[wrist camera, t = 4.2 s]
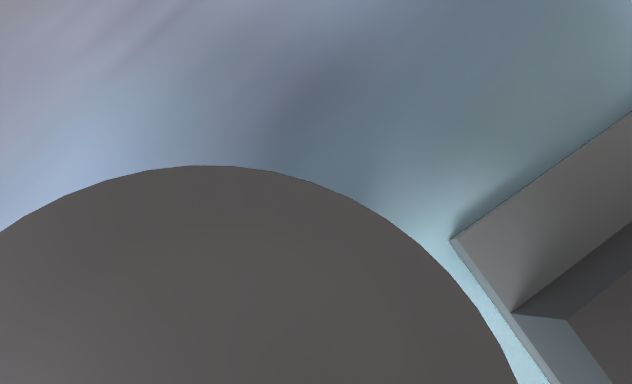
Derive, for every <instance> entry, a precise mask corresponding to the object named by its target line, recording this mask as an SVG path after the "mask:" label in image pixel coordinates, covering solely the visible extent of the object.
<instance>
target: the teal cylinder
mask: <svg viewBox="0 0 632 384" xmlns="http://www.w3.org/2000/svg"><path fill="white" fill-rule="evenodd" d="M0 384H518V383H517V380H516V378H515V376H514V374H513V372H512V370H511V368H510V365H509V363H508V361H507V359H506V357H505V355H504V352H503V350H502V348H501V346H500V344H499V343H498V341H497V339H496V338H495V336H494V335H493V333H492V331H491V330H490V328H489V327H488V325H487V323H486V322H485V320H484V318H483V317H482V315H481V314H480V312H479V310H478V309H477V307H476V306H475V305H474V304H473V302H472V301H471V300H470V299H469V297H468V296H467V295H466V294H465V292H464V291H463V290H462V289H461V287H460V286H459V285H458V284H457V282H456V281H455V280H454V279H453V277H452V276H451V275H450V274H449V273H448V272H447V271H446V270H445V269H444V268H443V267H442V266H441V265H440V264H439V263H438V262H437V261H436V260H435V259H434V258H433V257H432V256H431V255H430V254H429V253H428V252H427V251H426V250H425V249H424V248H423V247H422V246H421V245H420V244H419V243H417V242H416V241H415V240H413V239H412V238H411V237H409V236H408V235H407V234H405V233H404V232H403V231H401V230H400V229H399V228H397V227H396V226H395V225H393V224H392V223H391V222H389V221H388V220H387V219H385V218H384V217H382V216H380V215H378V214H377V213H375V212H373V211H371V210H370V209H368V208H366V207H364V206H363V205H361V204H359V203H357V202H356V201H354V200H352V199H350V198H348V197H346V196H343V195H341V194H339V193H336V192H334V191H331V190H329V189H327V188H324V187H322V186H319V185H317V184H314V183H312V182H308V181H305V180H301V179H297V178H294V177H290V176H286V175H283V174H279V173H275V172H271V171H264V170H256V169H249V168H242V167H235V166H182V167H173V168H164V169H155V170H147V171H143V172H139V173H135V174H131V175H126V176H122V177H118V178H114V179H110V180H106V181H103V182H100V183H98V184H95V185H92V186H90V187H87V188H84V189H81V190H79V191H76V192H73V193H71V194H68V195H65V196H63V197H61V198H59V199H57V200H55V201H53V202H51V203H49V204H47V205H45V206H44V207H42V208H40V209H38V210H36V211H34V212H32V213H30V214H28V215H26V216H24V217H22V218H21V219H19V220H18V221H16V222H15V223H13V224H12V225H10V226H9V227H7V228H6V229H4V230H3V231H1V232H0Z"/></svg>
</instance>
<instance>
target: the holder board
mask: <svg viewBox="0 0 632 384" xmlns="http://www.w3.org/2000/svg"><path fill="white" fill-rule="evenodd" d="M449 242H450V243H451V245H452V246H453V248H454V249H455V250H456V252H457V253H458V255H459V256H460V257H461V259H462V260H463V262H464V263H465V264H466V266H467V267H468V269H469V270H470V271H471V273H472V274H473V276H474V277H475V278H476V280H477V281H478V283H479V284H480V285H481V287H482V288H483V290H484V291H485V292H486V294H487V295H488V297H489V298H490V299H491V301H492V302H493V304H494V305H495V306H496V308H497V309H498V311H499V312H500V313H501V315H502V316H503V318H504V319H505V320H506V322H507V323H508V325H509V326H510V327H511V329H512V330H513V332H514V333H515V334H516V336H517V337H518V339H519V340H520V341H521V343H522V344H523V346H524V347H525V348H526V350H527V351H528V353H529V354H530V355H531V357H532V358H533V360H534V361H535V362H536V364H537V365H538V367H539V368H540V369H541V371H542V372H543V374H544V375H545V376H546V378H547V379H548V381H549V382H550V383H551V384H632V111H631V112H630V113H628V114H627V115H626V116H624V117H623V118H621V119H620V120H619V121H617V122H616V123H614V124H613V125H612V126H610V127H609V128H607V129H606V130H604V131H603V132H602V133H600V134H599V135H597V136H596V137H595V138H593V139H592V140H590V141H589V142H588V143H586V144H585V145H583V146H582V147H581V148H579V149H578V150H576V151H575V152H573V153H572V154H571V155H569V156H568V157H566V158H565V159H564V160H562V161H561V162H559V163H558V164H557V165H555V166H554V167H552V168H551V169H549V170H548V171H547V172H545V173H544V174H542V175H541V176H540V177H538V178H537V179H535V180H534V181H533V182H531V183H530V184H528V185H527V186H526V187H524V188H523V189H521V190H520V191H518V192H517V193H516V194H514V195H513V196H511V197H510V198H509V199H507V200H506V201H504V202H503V203H502V204H500V205H499V206H497V207H496V208H494V209H493V210H492V211H490V212H489V213H487V214H486V215H485V216H483V217H482V218H480V219H479V220H478V221H476V222H475V223H473V224H472V225H471V226H469V227H468V228H466V229H465V230H463V231H462V232H461V233H459V234H458V235H456V236H455V237H454V238H452V239H451V240H449Z"/></svg>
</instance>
